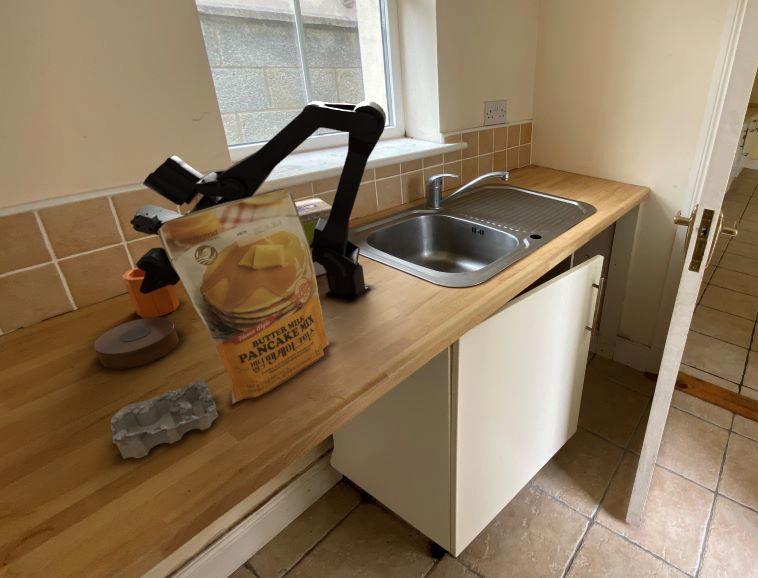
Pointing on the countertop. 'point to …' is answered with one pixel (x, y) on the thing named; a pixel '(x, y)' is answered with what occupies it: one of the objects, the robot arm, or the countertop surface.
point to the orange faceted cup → (149, 296)
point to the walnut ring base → (136, 343)
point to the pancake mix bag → (251, 287)
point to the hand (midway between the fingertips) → (155, 279)
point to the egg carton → (162, 419)
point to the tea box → (313, 221)
